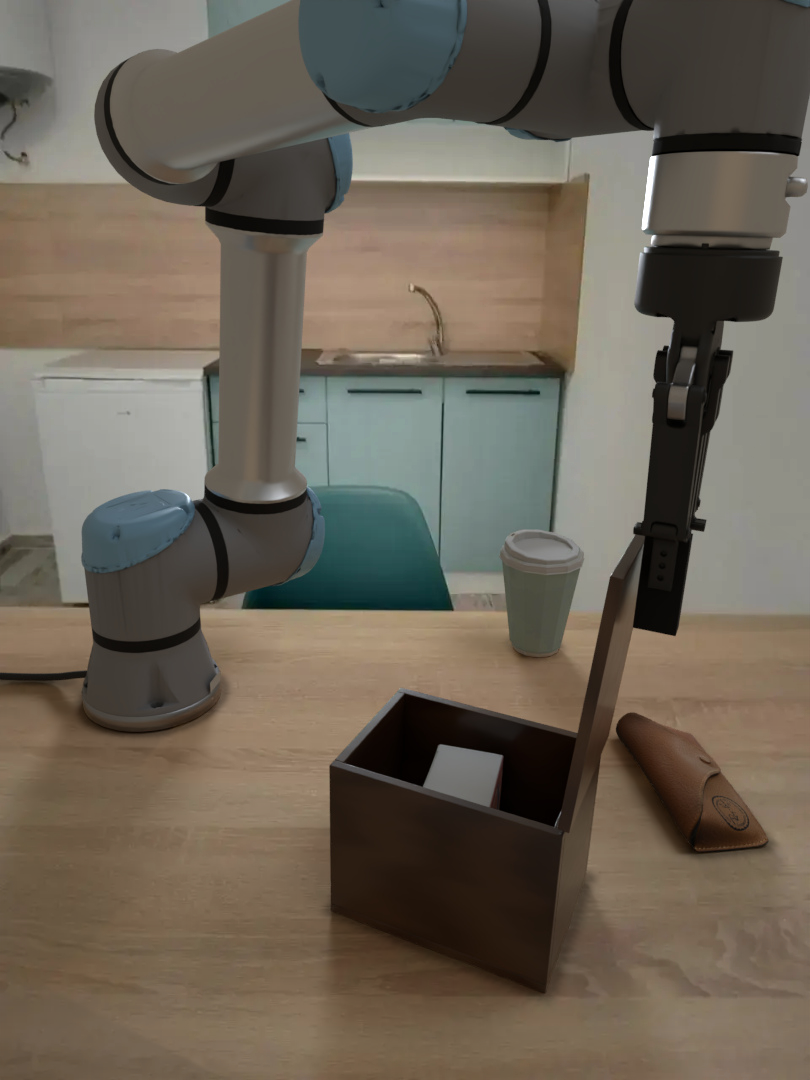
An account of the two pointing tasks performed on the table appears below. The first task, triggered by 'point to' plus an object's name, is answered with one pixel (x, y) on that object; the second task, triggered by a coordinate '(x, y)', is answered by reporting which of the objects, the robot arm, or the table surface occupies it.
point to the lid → (603, 678)
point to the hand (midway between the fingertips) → (655, 627)
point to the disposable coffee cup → (539, 588)
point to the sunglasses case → (690, 786)
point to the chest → (459, 837)
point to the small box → (467, 775)
